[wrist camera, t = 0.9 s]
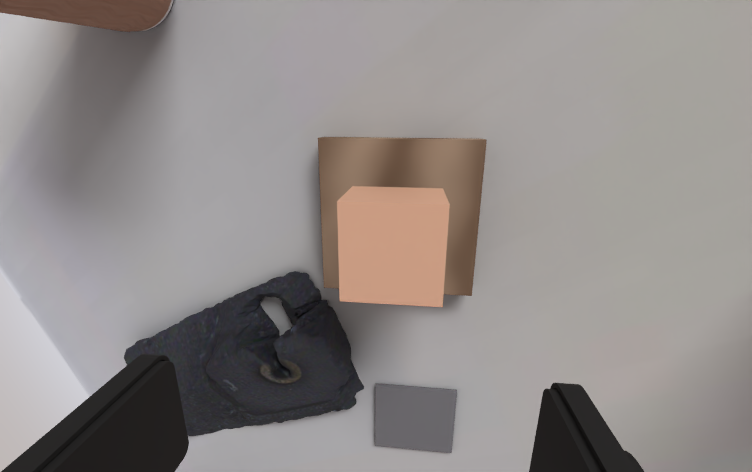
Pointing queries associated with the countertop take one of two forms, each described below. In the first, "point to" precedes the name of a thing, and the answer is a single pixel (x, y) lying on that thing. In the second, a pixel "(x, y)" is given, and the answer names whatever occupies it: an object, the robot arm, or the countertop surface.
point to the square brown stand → (413, 170)
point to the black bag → (258, 359)
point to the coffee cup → (94, 12)
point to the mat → (414, 417)
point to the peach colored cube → (392, 245)
